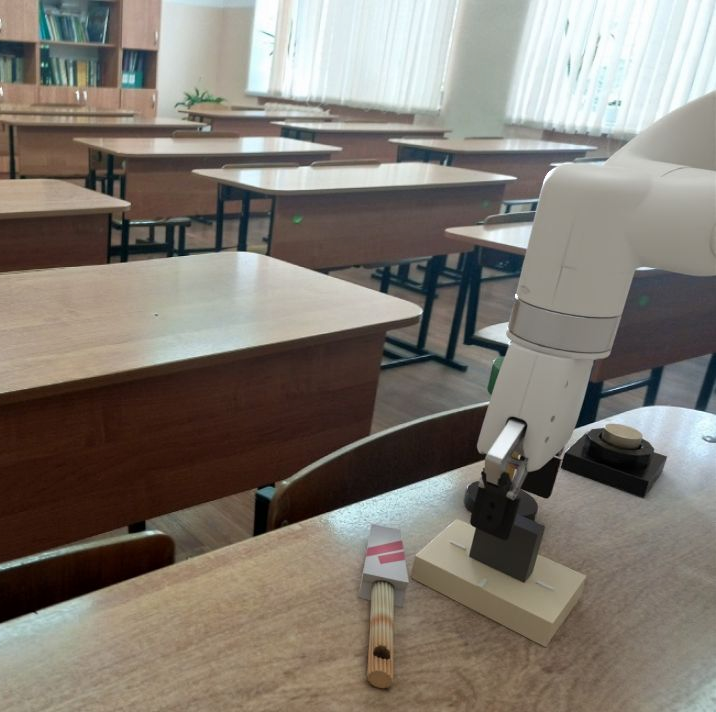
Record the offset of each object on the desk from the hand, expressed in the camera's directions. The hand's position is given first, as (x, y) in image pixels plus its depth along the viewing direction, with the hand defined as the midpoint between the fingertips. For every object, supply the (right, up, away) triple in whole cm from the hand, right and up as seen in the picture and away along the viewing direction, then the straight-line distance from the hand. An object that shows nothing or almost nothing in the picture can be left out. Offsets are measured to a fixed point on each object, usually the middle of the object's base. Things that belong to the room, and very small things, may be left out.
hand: (511, 510), depth 64 cm
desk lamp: (+6, -3, +16) cm, 17 cm away
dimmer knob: (0, -5, +2) cm, 6 cm away
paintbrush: (-11, -8, 0) cm, 14 cm away
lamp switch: (+24, 0, +25) cm, 35 cm away
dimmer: (0, -8, +3) cm, 8 cm away
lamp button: (+24, +3, +24) cm, 35 cm away
